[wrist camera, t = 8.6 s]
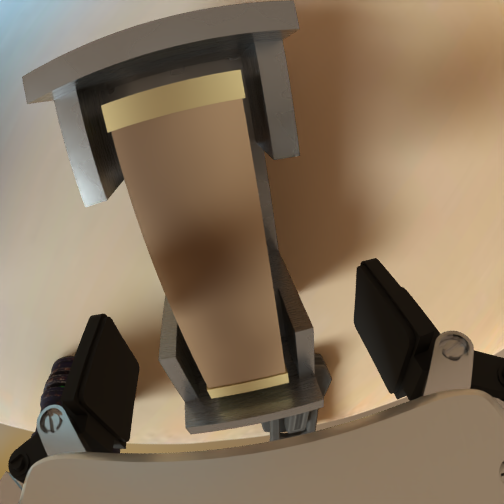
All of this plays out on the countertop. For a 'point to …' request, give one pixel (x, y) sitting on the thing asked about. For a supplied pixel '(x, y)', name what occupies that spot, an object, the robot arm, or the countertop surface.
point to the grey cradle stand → (261, 139)
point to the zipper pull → (304, 420)
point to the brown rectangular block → (204, 224)
